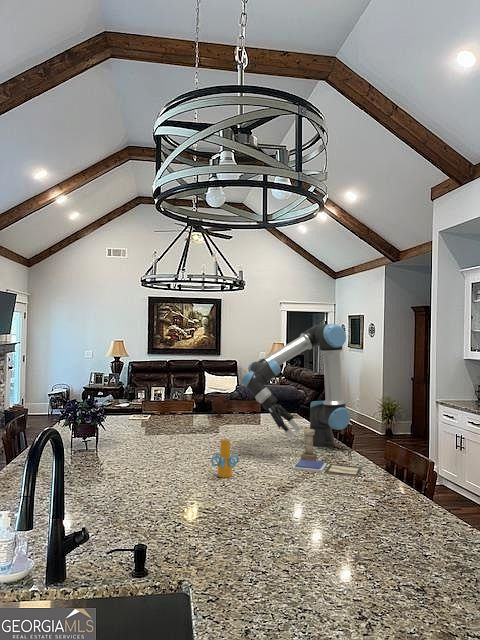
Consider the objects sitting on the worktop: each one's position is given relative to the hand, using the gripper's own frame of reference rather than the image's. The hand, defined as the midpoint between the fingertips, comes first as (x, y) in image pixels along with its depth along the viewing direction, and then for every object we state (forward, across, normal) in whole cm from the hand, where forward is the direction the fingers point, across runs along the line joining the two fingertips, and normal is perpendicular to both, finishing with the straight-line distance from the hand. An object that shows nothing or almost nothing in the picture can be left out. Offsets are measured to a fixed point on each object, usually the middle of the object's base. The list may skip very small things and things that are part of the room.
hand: (296, 433), depth 254 cm
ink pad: (+15, +11, -2) cm, 19 cm away
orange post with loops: (-6, +39, -24) cm, 46 cm away
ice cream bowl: (-45, -94, -63) cm, 122 cm away
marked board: (+26, +11, +8) cm, 29 cm away
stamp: (+13, -1, -4) cm, 14 cm away
